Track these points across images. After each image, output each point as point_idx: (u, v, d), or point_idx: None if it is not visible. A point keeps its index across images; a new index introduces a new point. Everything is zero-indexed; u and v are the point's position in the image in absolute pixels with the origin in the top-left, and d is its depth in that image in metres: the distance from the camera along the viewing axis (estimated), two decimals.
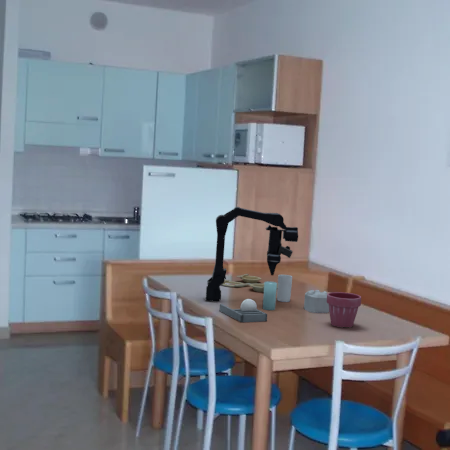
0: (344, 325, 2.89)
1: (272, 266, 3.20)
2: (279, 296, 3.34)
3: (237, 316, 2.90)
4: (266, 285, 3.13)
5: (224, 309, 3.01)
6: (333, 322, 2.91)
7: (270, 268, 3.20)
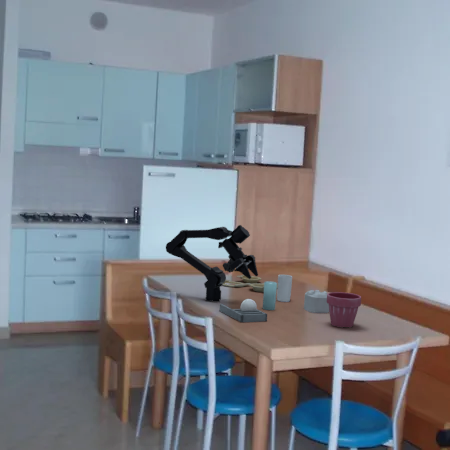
0: (344, 325, 2.89)
1: None
2: (279, 296, 3.34)
3: (237, 316, 2.90)
4: (266, 285, 3.13)
5: (224, 309, 3.01)
6: (333, 322, 2.91)
7: None
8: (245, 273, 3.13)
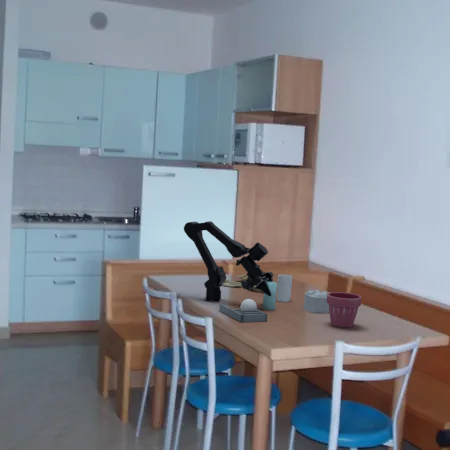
0: (344, 325, 2.89)
1: None
2: (279, 296, 3.34)
3: (237, 316, 2.90)
4: None
5: (224, 309, 3.01)
6: (333, 322, 2.91)
7: None
8: (265, 290, 3.12)
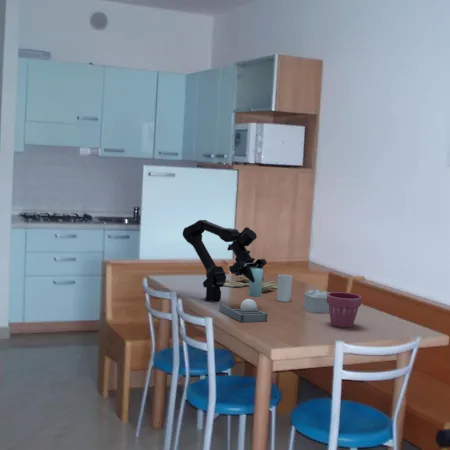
0: (344, 325, 2.89)
1: None
2: (279, 296, 3.34)
3: (237, 316, 2.90)
4: None
5: (224, 309, 3.01)
6: (333, 322, 2.91)
7: None
8: (249, 276, 3.06)
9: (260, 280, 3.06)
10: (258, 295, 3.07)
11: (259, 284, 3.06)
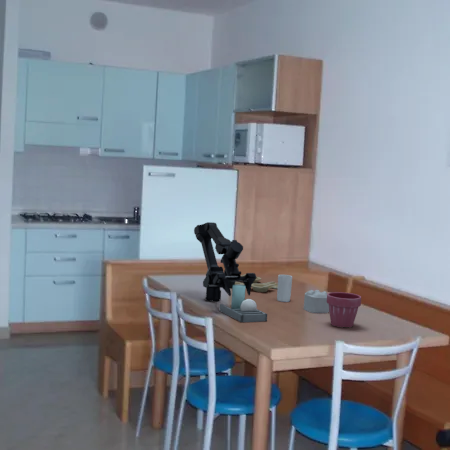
0: (344, 325, 2.89)
1: None
2: (279, 296, 3.34)
3: (237, 316, 2.90)
4: (232, 287, 3.02)
5: (224, 309, 3.01)
6: (333, 322, 2.91)
7: None
8: (226, 289, 3.00)
9: (240, 297, 3.00)
10: None
11: (239, 301, 3.00)
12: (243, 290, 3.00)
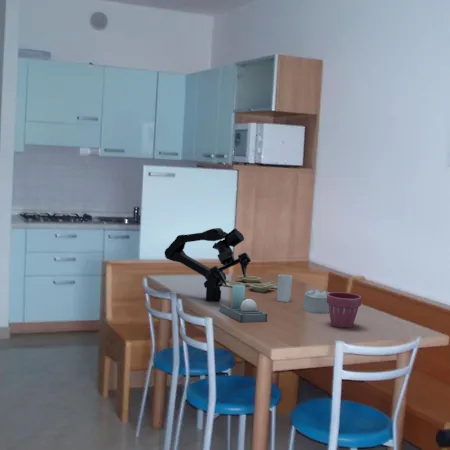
0: (344, 325, 2.89)
1: (221, 278, 3.16)
2: (279, 296, 3.34)
3: (237, 316, 2.90)
4: (232, 287, 3.02)
5: (224, 309, 3.01)
6: (333, 322, 2.91)
7: None
8: (244, 270, 3.13)
9: (240, 297, 3.00)
10: None
11: (239, 301, 3.00)
12: (243, 290, 3.00)
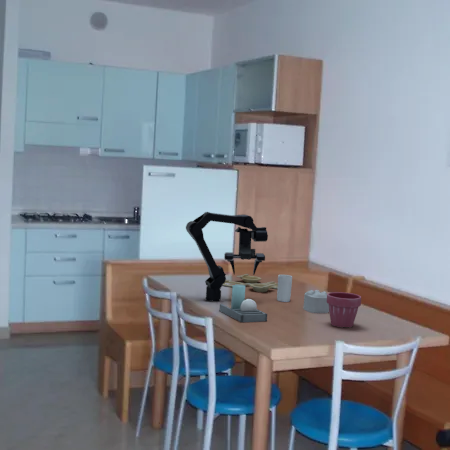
0: (344, 325, 2.89)
1: None
2: (279, 296, 3.34)
3: (237, 316, 2.90)
4: (232, 287, 3.02)
5: (224, 309, 3.01)
6: (333, 322, 2.91)
7: None
8: (255, 268, 3.29)
9: (240, 297, 3.00)
10: None
11: (239, 301, 3.00)
12: (243, 290, 3.00)
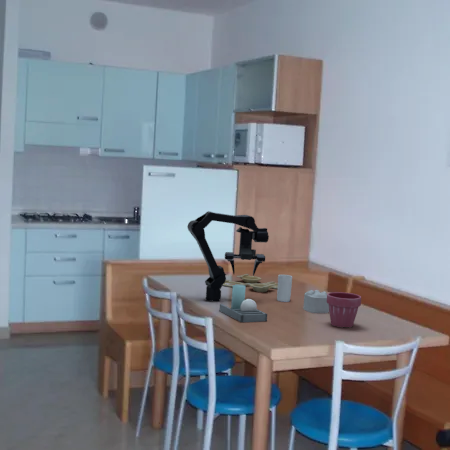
0: (344, 325, 2.89)
1: None
2: (279, 296, 3.34)
3: (237, 316, 2.90)
4: (232, 288, 3.02)
5: (224, 309, 3.01)
6: (333, 322, 2.91)
7: None
8: (255, 269, 3.30)
9: (240, 297, 3.00)
10: None
11: (239, 301, 3.00)
12: (243, 290, 3.00)
